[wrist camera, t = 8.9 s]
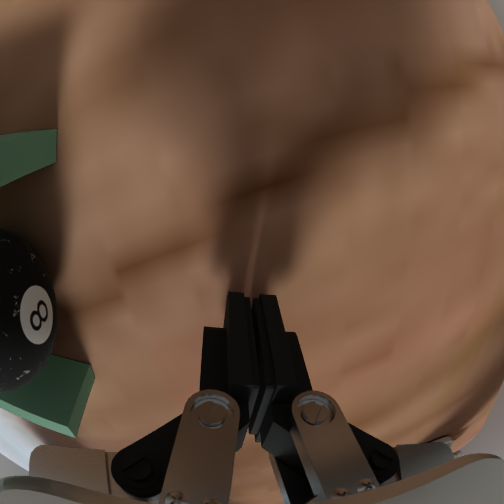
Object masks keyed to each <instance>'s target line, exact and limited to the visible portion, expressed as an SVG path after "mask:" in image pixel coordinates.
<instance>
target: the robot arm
mask: <svg viewBox="0 0 504 504" xmlns="http://www.w3.org/2000/svg"><path fill="white" fill-rule="evenodd" d="M248 428H249V434H255V442H261V446H262V448H264V449H265V450H266V451H268V453H269V459H270V462H271V465H272V468H273V471H274V474H275V477H276V480H277V484H278V487H279V490H280V492H281V495H282V498H283V501H284V504H504V461H503V460H502V459H501V458H500V457H498V456H496V455H493V454H485V453H476V454H469V455H465V456H462V452H461V451H460V450H459V451H456V452H455V453H452V450H451V448H450V447H451V445H452V444H453V440H452V438H451V437H449V436H447V437H443V438H440V439H437V440H435V441H433V442H431V443H420V444H405V445H397V446H396V447H391V446H390V445H388V444H386V443H384V442H382V441H381V440H379V439H377V438H375V437H373V436H371V435H369V434H368V433H366V432H364V431H362V430H360V429H358V428H357V427H355V426H353V425H351V424H350V423H348V422H347V420H346V418H345V417H344V415H343V413H342V411H341V409H340V407H339V405H338V404H337V402H336V401H335V399H333V398H332V397H331V396H329V395H328V394H325V393H323V392H319V391H313V390H312V386H311V383H310V379H309V376H308V372H307V369H306V365H305V362H304V358H303V355H302V351H301V348H300V344H299V341H298V337H297V335H296V333H295V332H285V329H284V325H283V321H282V317H281V313H280V309H279V305H278V301H277V297H276V295H265V294H260V295H259V298H254V299H253V303H252V308H251V304H250V298H249V297H244V293H240V292H229V291H228V295H227V303H226V311H225V319H224V327H223V328H215V327H204V332H203V345H202V359H201V375H200V391H199V392H196V393H194V394H193V395H192V396H191V397H190V398H188V400H187V402H186V404H185V407H184V410H183V413H182V414H181V415H179V416H178V417H176V418H175V419H173V420H171V421H170V422H168V423H167V424H165V425H163V426H162V427H160V428H158V429H157V430H155V431H153V432H152V433H150V434H148V435H147V436H145V437H143V438H142V439H140V440H138V441H136V442H135V443H133V444H131V445H129V446H128V447H126V448H124V449H122V450H121V451H119V452H106V451H105V450H99V449H82V448H71V447H62V446H54V445H40V446H38V447H36V448H35V449H34V450H33V451H32V453H31V456H30V462H29V476H9V477H4V478H1V479H0V504H229V498H230V490H231V482H232V475H233V467H234V459H235V452H237V451H238V450H239V449H240V448H241V447H242V444H243V441H244V438H245V435H246V432H247V429H248ZM461 456H462V457H461Z"/></svg>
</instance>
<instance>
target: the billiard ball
mask: <svg viewBox="0 0 504 504" xmlns="http://www.w3.org/2000/svg"><path fill="white" fill-rule="evenodd" d="M56 330H57V305H56V299H55V294H54V289H53V286H52V283H51V280H50V278H49V275H48V273H47V271H46V269H45V267H44V265H43V263H42V262H41V260H40V259H39V257H38V256H37V254H36V253H35V252H34V251H33V250H32V248H31V247H30V246H29V245H28V244H27V243H26V242H25V241H23V240H22V239H21V238H19V237H18V236H16V235H15V234H13V233H11V232H9V231H6V230H4V229H0V392H7V391H12V390H15V389H17V388H20V387H22V386H23V385H25V384H27V383H28V382H30V381H31V380H32V379H33V378H34V377H35V376H36V375H37V374H38V373H39V372H40V371H41V370H42V368H43V367H44V365H45V364H46V362H47V361H48V359H49V356H50V354H51V351H52V349H53V346H54V341H55V337H56Z"/></svg>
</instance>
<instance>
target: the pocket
mask: <svg viewBox="0 0 504 504" xmlns="http://www.w3.org/2000/svg"><path fill="white" fill-rule="evenodd" d="M56 140H57V129H48V130H37V131H27V132H19V133H11V134H4V135H0V187H2V186H4V185H6V184H8V183H10V182H12V181H14V180H16V179H18V178H21V177H23V176H25V175H27V174H29V173H32V172H34V171H36V170H39V169H41V168H44V167H46V166H48V165H51V164H54V163H56ZM94 380H95V377H94V374H93V371H92V368H91V365H90V364H86V363H82V362H78V361H74V360H70V359H66V358H62V357H59V356H55V355H52V354H50V356H49V359H48V361H47V362H46V364H45V365H44V367H43V368H42V370H41V371H40V372H39V373H38V374H37V375H36V376H35V377H34V378H33V379H32V380H31V381H30V382H28V383H27V384H25V385H23V386H22V387H20V388H17V389H15V390H12V391H7V392H0V408H2V409H4V410H6V411H8V412H11V413H13V414H15V415H17V416H19V417H21V418H24V419H26V420H28V421H30V422H33V423H35V424H38V425H40V426H43V427H45V428H48V429H51V430H53V431H56V432H59V433H62V434H65V435H68V436H71V437H74V438H76V436H77V433H78V429H79V426H80V422H81V419H82V416H83V413H84V410H85V406H86V403H87V400H88V397H89V394H90V391H91V388H92V386H93V383H94Z"/></svg>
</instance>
